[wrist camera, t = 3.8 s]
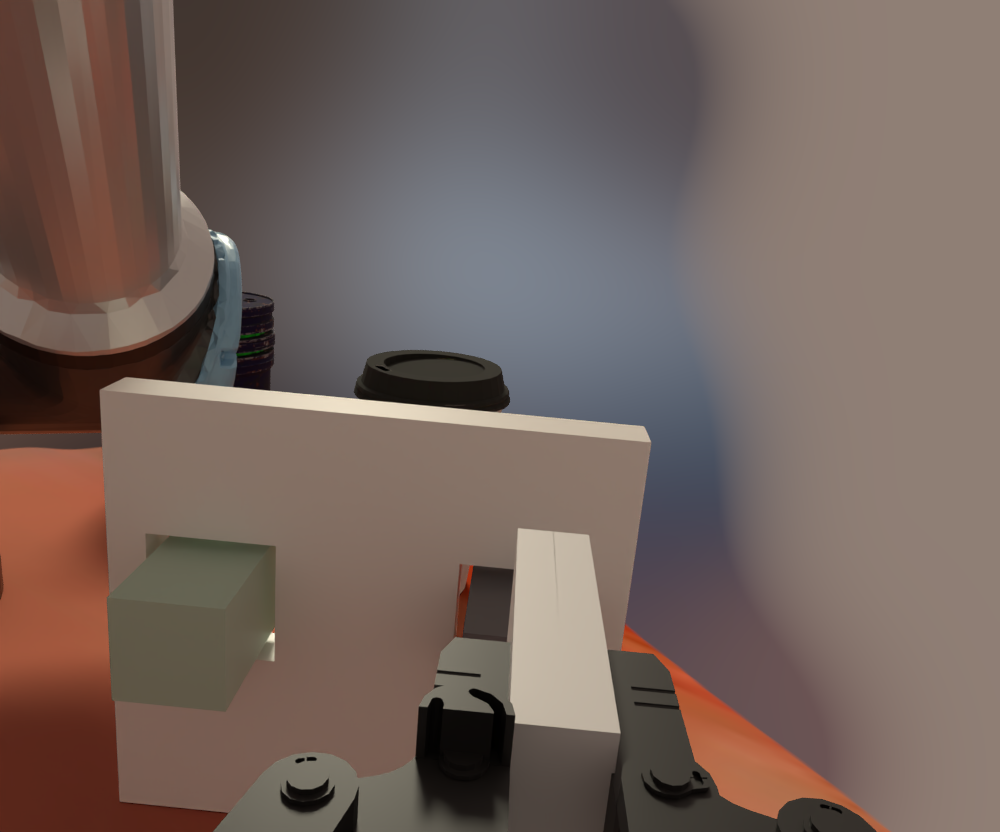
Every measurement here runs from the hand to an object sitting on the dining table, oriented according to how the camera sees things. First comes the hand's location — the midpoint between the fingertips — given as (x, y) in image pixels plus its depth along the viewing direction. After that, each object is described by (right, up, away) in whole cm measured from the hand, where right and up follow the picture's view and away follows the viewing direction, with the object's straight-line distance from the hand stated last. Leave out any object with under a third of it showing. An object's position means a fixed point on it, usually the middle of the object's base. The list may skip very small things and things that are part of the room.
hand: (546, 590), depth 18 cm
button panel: (-7, -13, +20) cm, 25 cm away
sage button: (-12, -6, +14) cm, 20 cm away
